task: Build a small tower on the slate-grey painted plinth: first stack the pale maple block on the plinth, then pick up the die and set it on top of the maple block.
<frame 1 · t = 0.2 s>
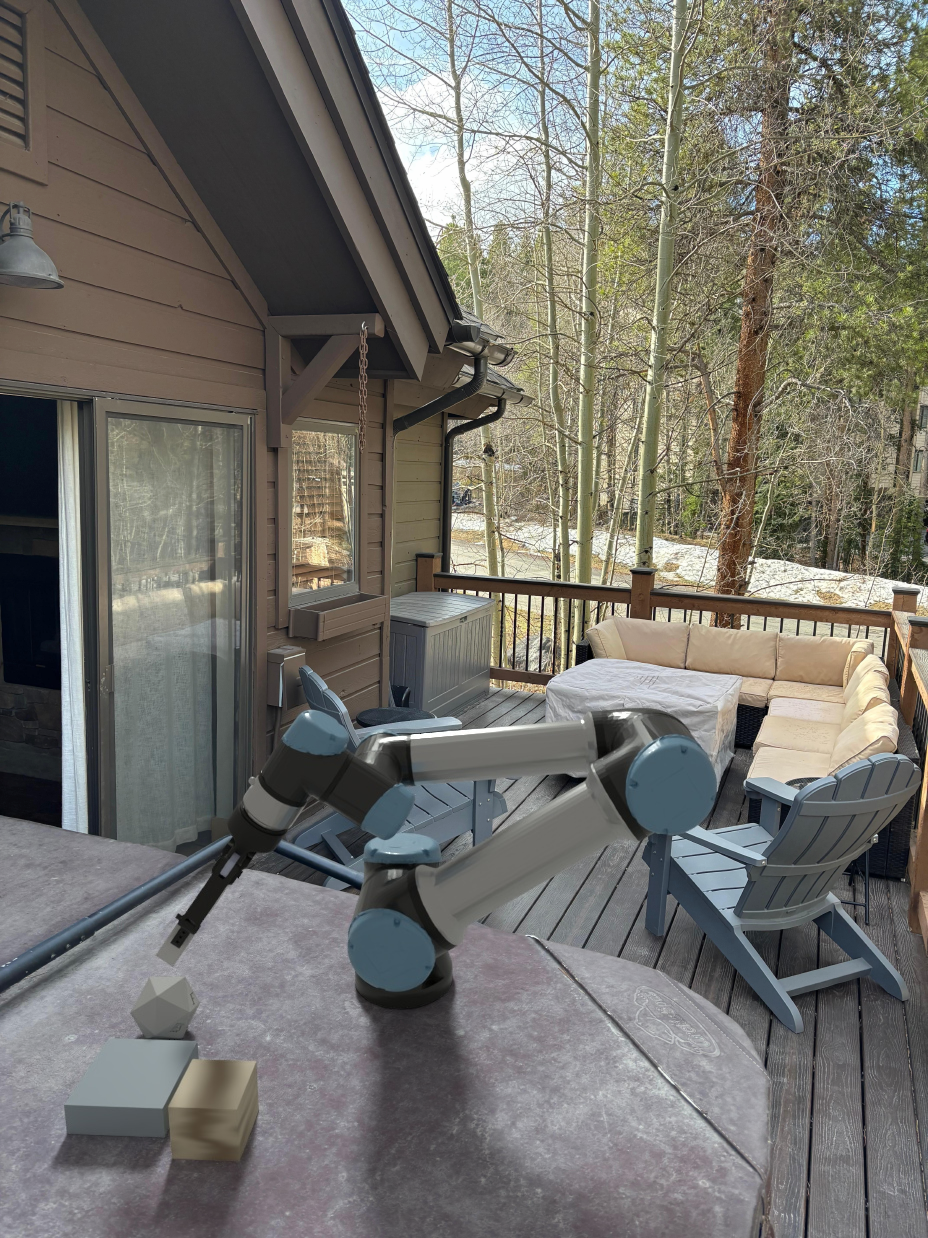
hand: (184, 933, 120), 16 cm above the table, tool tilted 35°, fingers open, 13 cm apart
die: (167, 1033, 124), on the table
maple block: (216, 1134, 105), on the table
plinth: (136, 1099, 111), on the table
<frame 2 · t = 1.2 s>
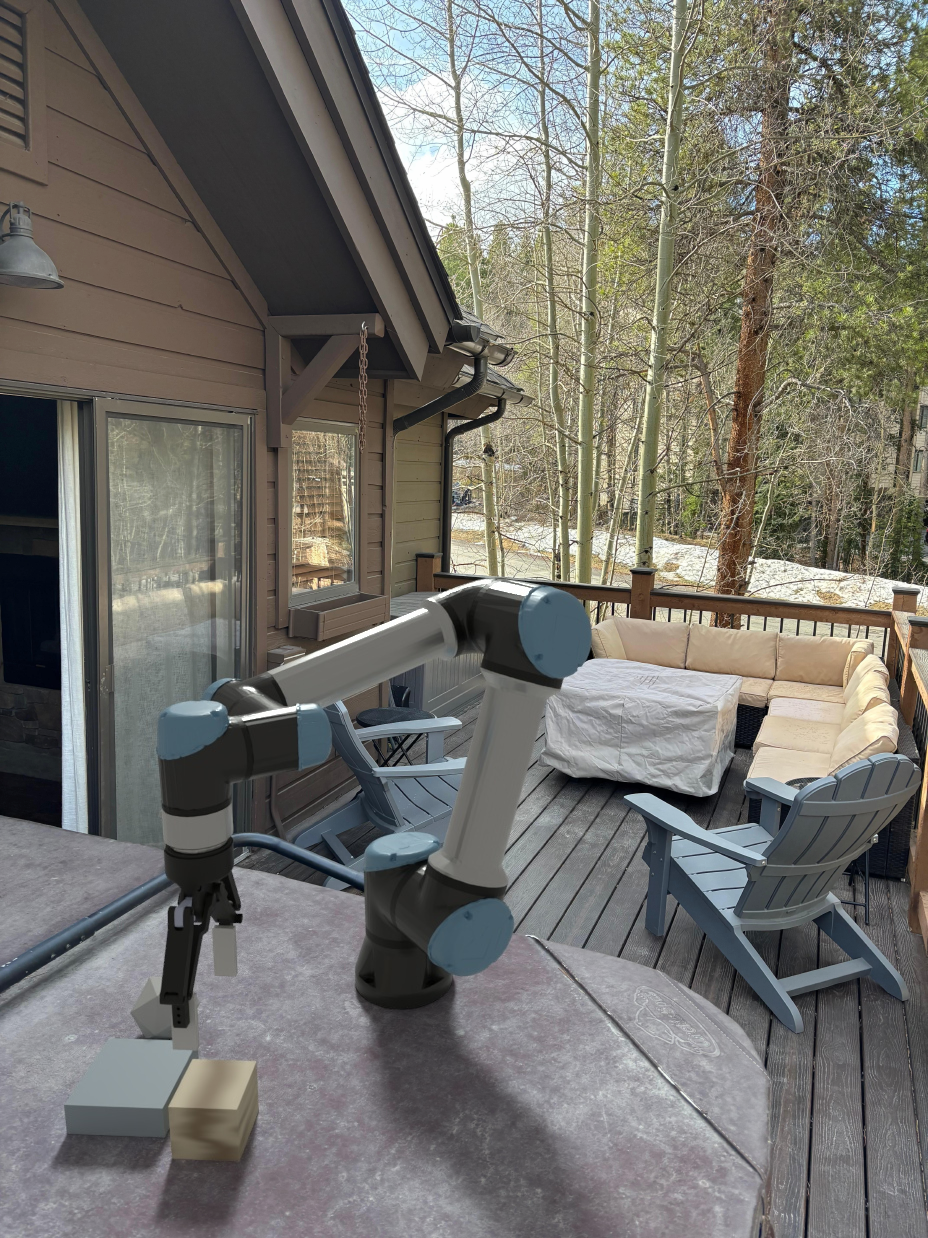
hand: (207, 1009, 102), 17 cm above the table, tool pointing down, fingers open, 13 cm apart
nothing on the table moved.
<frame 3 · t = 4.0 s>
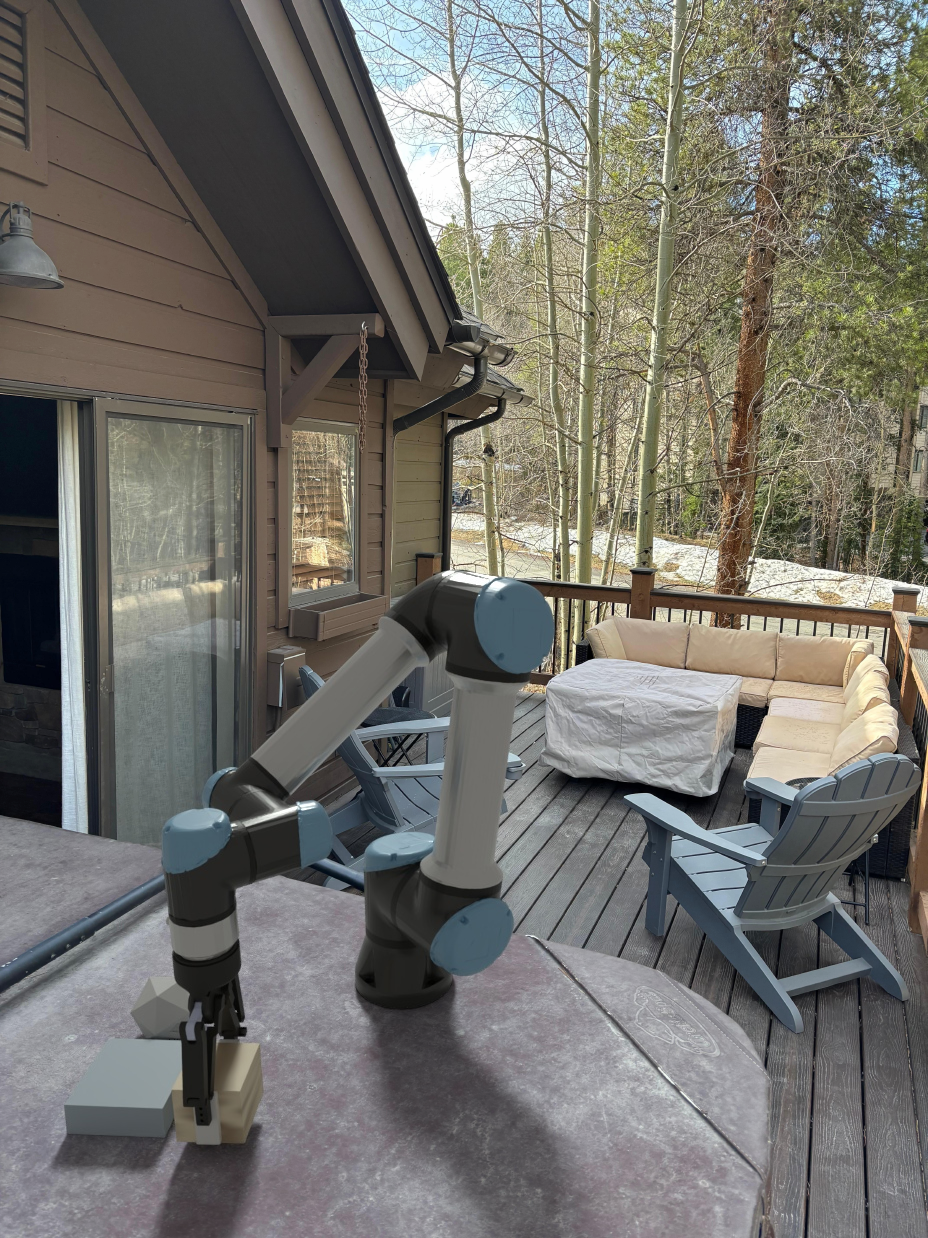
hand: (221, 1113, 105), 2 cm above the table, tool pointing down, fingers closed on maple block, 8 cm apart
maple block: (221, 1116, 105), point 2 cm above the table, touching gripper
everything else where it was.
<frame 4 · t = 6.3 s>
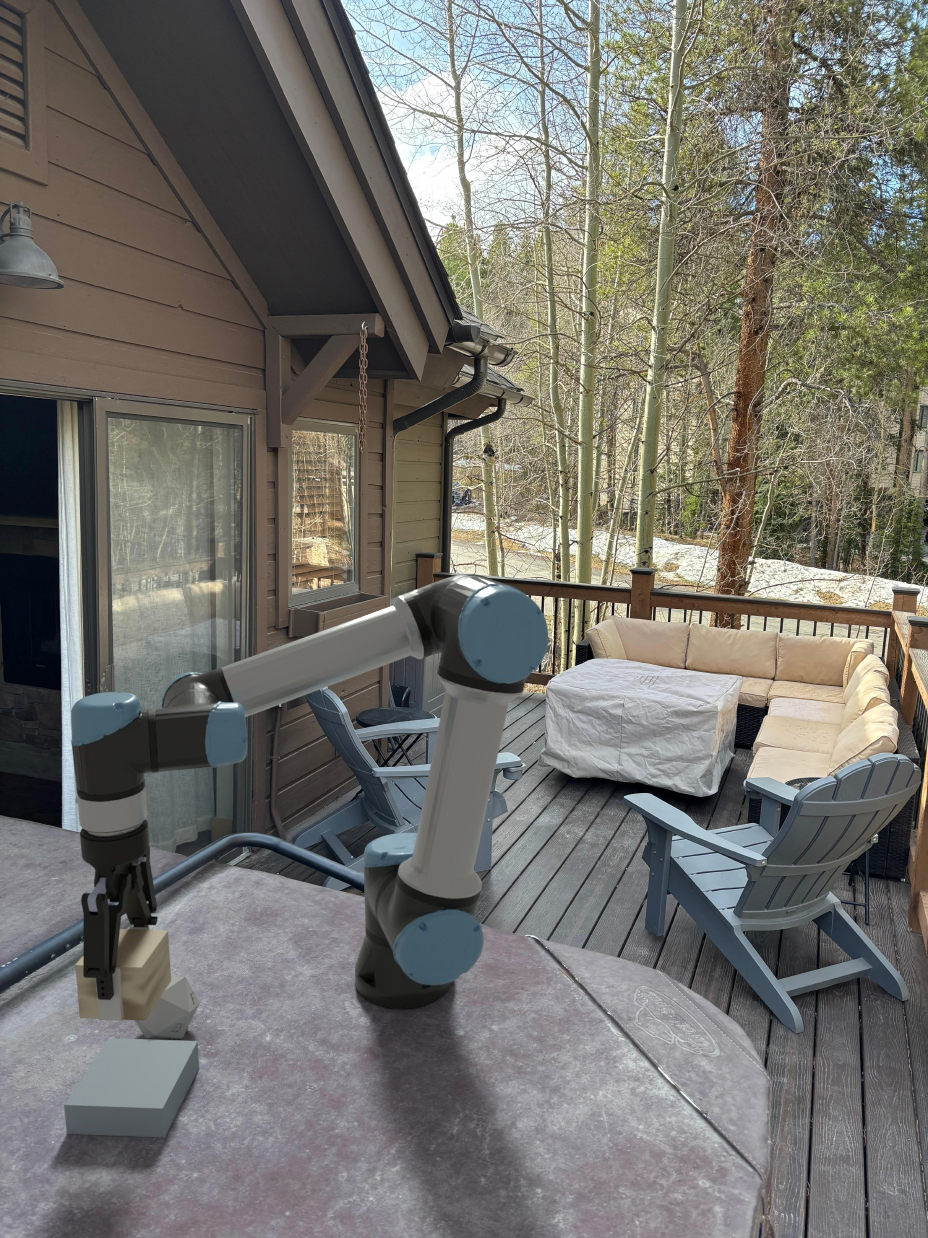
hand: (127, 995, 108), 15 cm above the table, tool pointing down, fingers closed on maple block, 8 cm apart
maple block: (127, 998, 108), point 14 cm above the table, touching gripper
everything else where it was.
when the fingers open (5 cm above the table, at t = 8.3 s): maple block stays where it is, resting on plinth.
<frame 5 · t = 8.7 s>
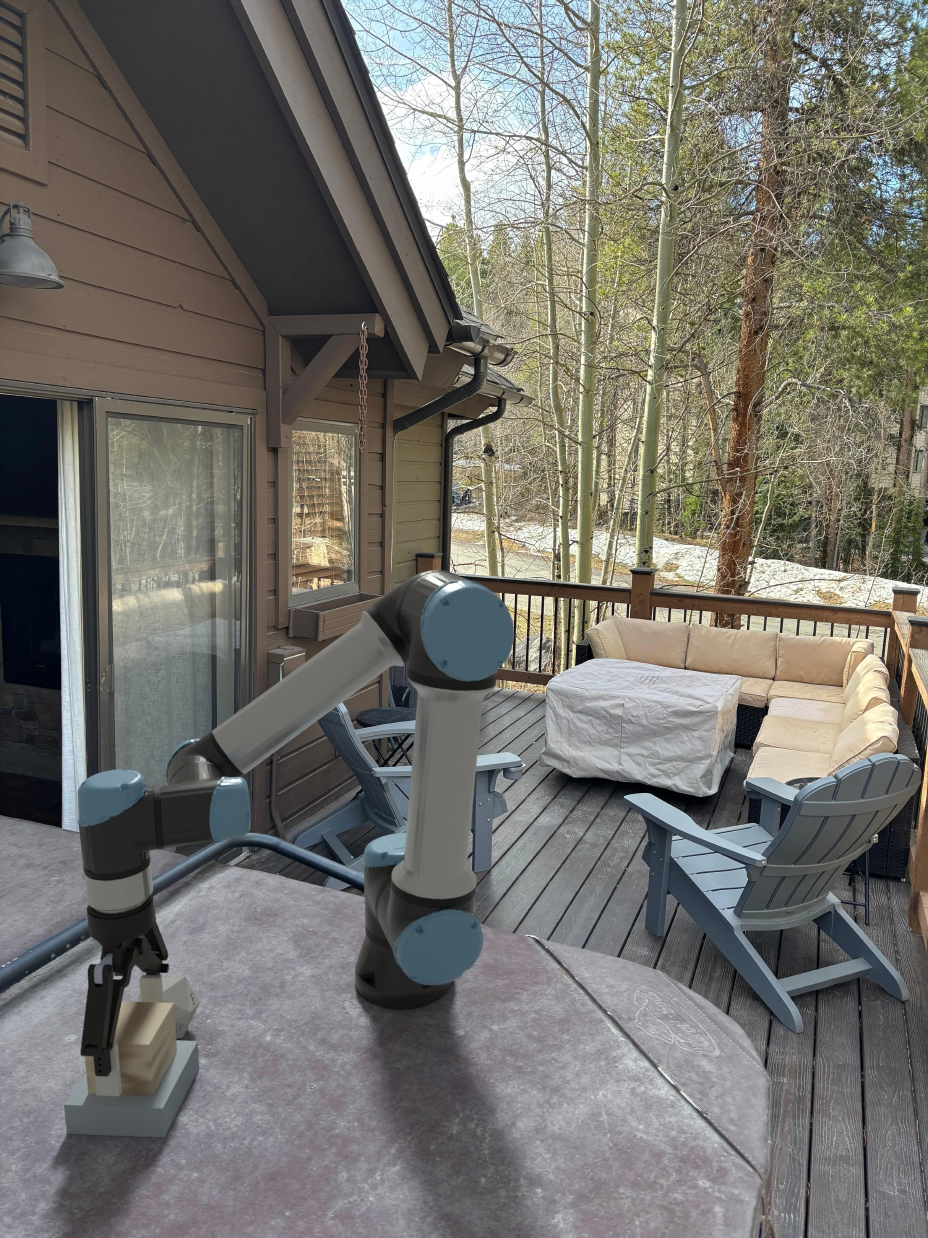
hand: (132, 1055, 110), 6 cm above the table, tool pointing down, fingers open, 13 cm apart
maple block: (134, 1072, 110), point 4 cm above the table, touching plinth
everything else where it was.
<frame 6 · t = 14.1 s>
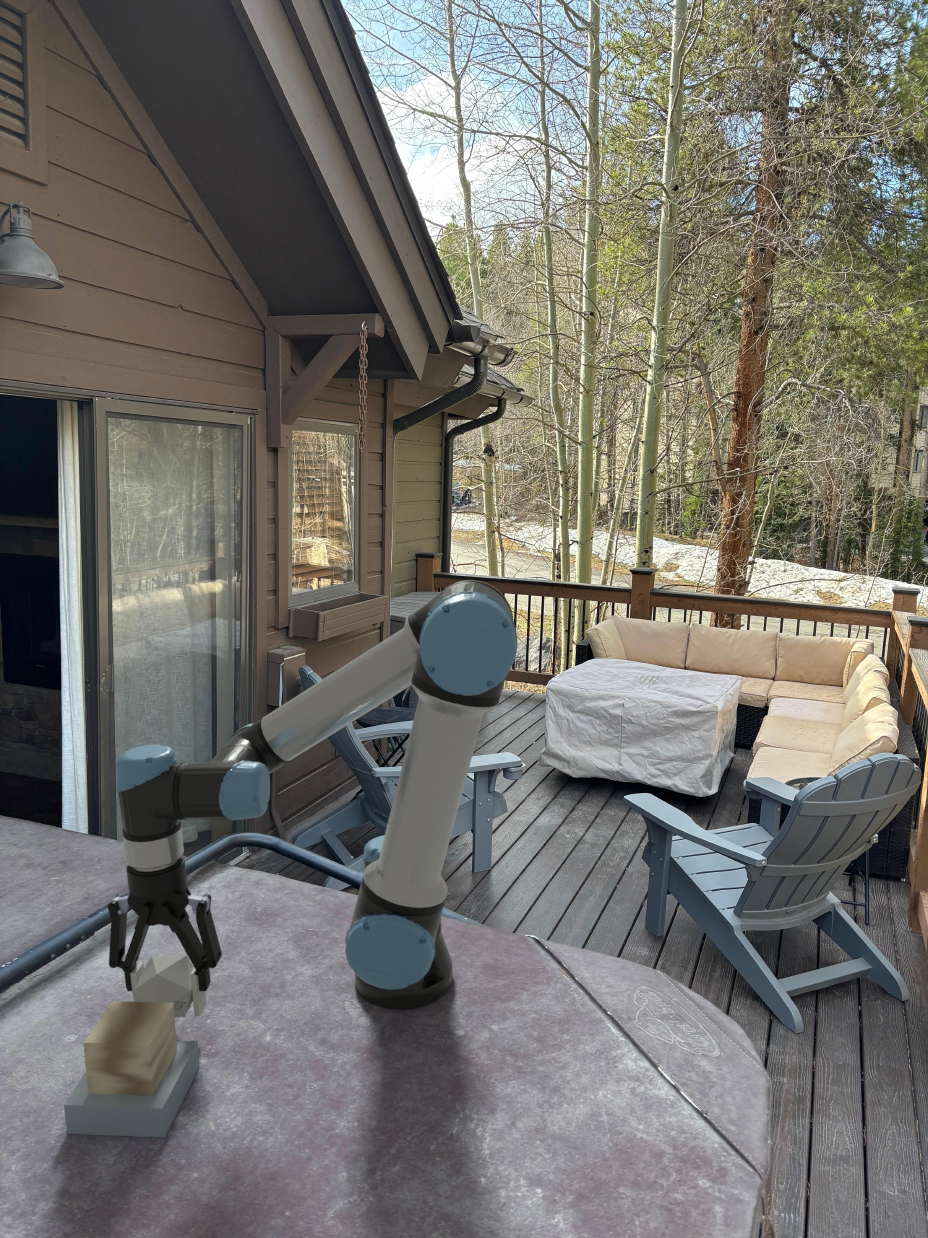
hand: (171, 1009, 123), 4 cm above the table, tool pointing down, fingers closed on die, 8 cm apart
die: (170, 1012, 123), point 3 cm above the table, touching gripper
everything else where it was.
when the fingers open (12 cm above the table, at t = 18.1 s): die stays where it is, resting on maple block.
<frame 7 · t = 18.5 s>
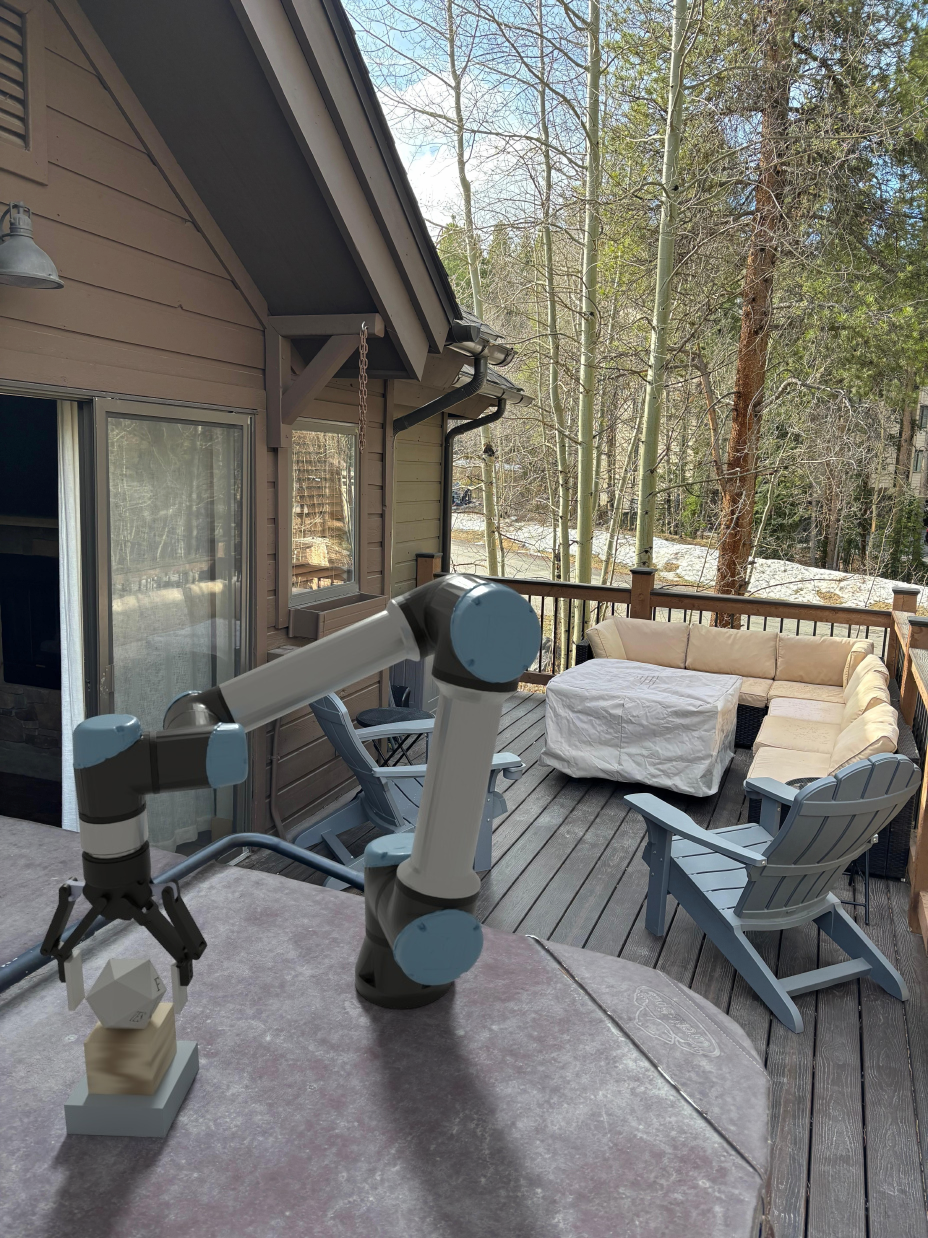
hand: (128, 1006, 108), 13 cm above the table, tool pointing down, fingers open, 12 cm apart
die: (129, 1023, 109), point 11 cm above the table, touching maple block
maple block: (134, 1071, 110), point 4 cm above the table, touching die, plinth
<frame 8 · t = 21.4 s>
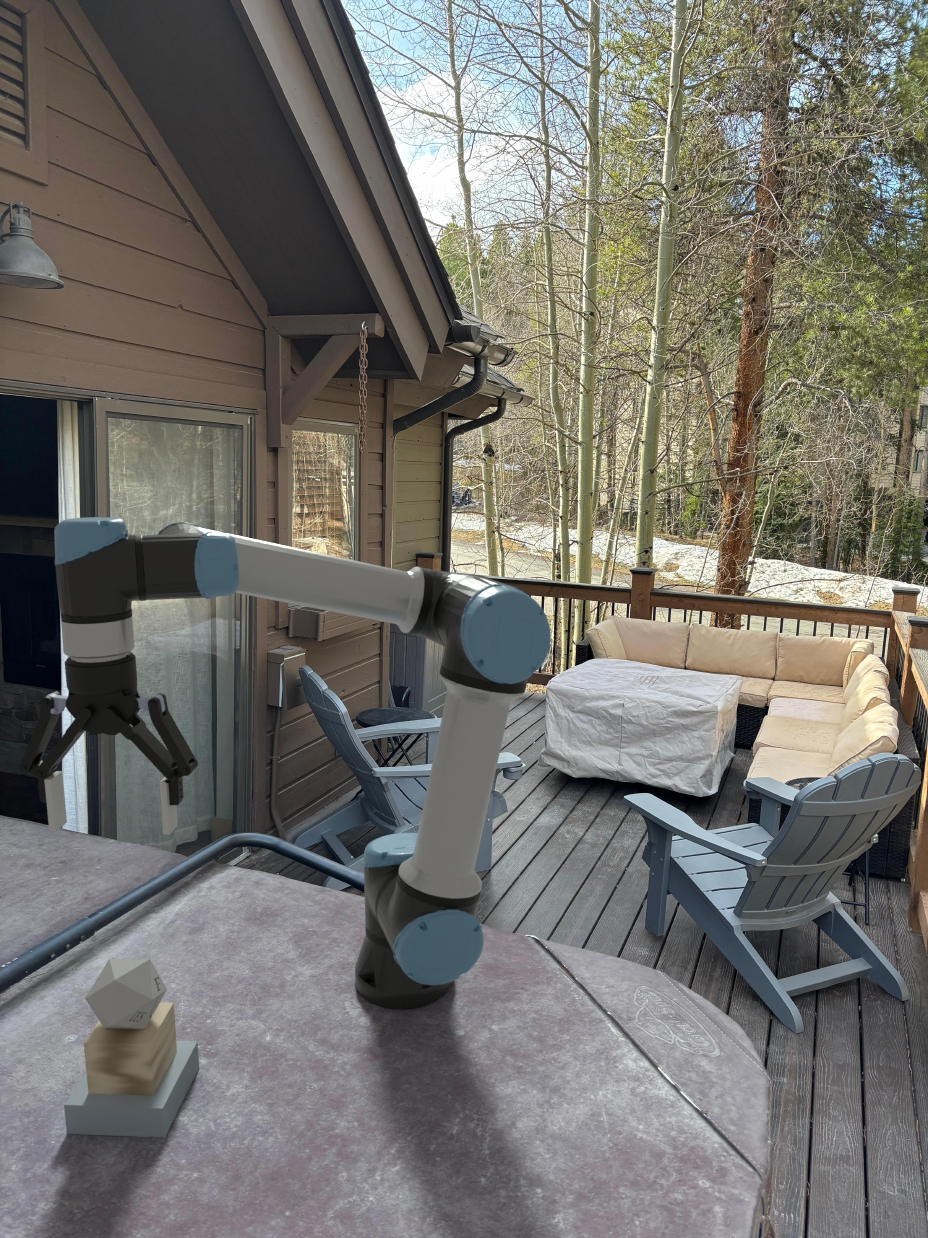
hand: (114, 828, 104), 37 cm above the table, tool pointing down, fingers open, 13 cm apart
nothing on the table moved.
at the end: maple block inside the target area on the plinth (0.0 cm from its centre), point 4.0 cm above the plinth's base; die inside the target area on the plinth (0.1 cm from its centre), point 10.8 cm above the plinth's base; die tilted 1° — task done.
